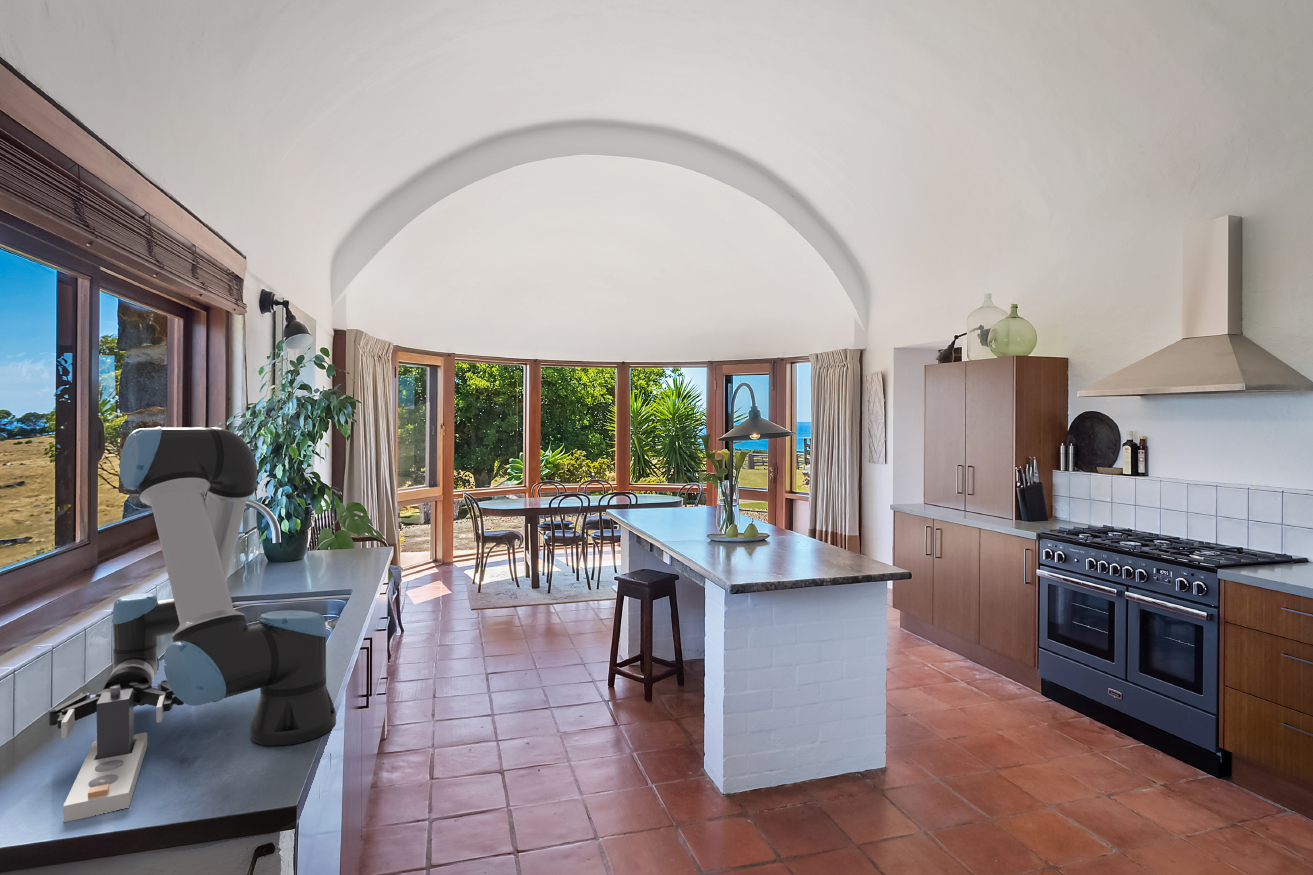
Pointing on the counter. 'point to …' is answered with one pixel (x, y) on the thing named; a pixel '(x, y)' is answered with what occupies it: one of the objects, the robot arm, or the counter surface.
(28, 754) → the counter surface
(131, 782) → the power strip
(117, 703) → the grey block with knob
